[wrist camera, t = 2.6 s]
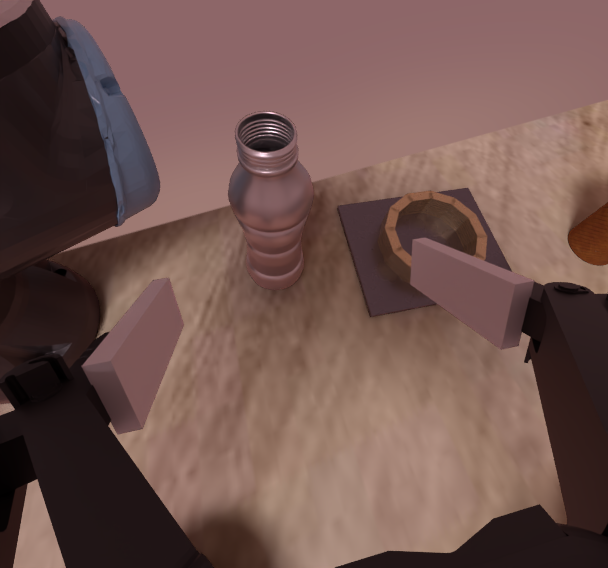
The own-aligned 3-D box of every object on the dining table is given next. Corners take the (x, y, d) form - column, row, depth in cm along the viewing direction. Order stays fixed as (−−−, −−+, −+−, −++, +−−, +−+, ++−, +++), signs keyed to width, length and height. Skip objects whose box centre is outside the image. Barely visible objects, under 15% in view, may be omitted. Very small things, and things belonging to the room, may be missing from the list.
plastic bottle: (248, 250, 36) (208, 95, 18) (300, 247, 37) (315, 94, 18) (249, 297, 34) (205, 175, 15) (305, 293, 34) (328, 171, 16)
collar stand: (370, 317, 34) (379, 308, 30) (337, 208, 39) (341, 191, 36) (516, 288, 36) (539, 277, 33) (465, 190, 42) (481, 172, 39)
